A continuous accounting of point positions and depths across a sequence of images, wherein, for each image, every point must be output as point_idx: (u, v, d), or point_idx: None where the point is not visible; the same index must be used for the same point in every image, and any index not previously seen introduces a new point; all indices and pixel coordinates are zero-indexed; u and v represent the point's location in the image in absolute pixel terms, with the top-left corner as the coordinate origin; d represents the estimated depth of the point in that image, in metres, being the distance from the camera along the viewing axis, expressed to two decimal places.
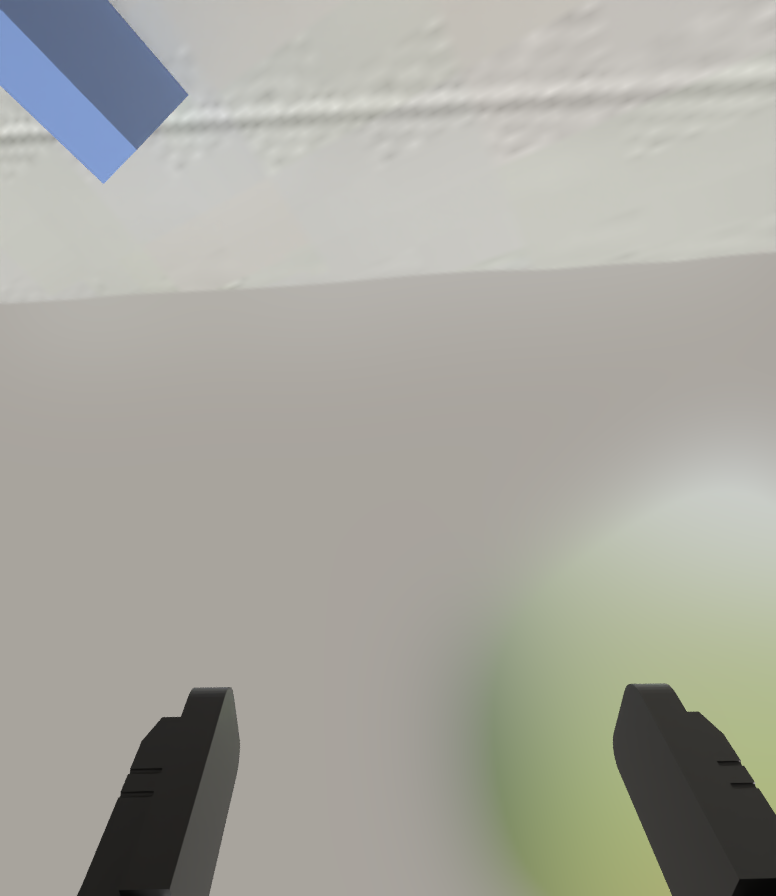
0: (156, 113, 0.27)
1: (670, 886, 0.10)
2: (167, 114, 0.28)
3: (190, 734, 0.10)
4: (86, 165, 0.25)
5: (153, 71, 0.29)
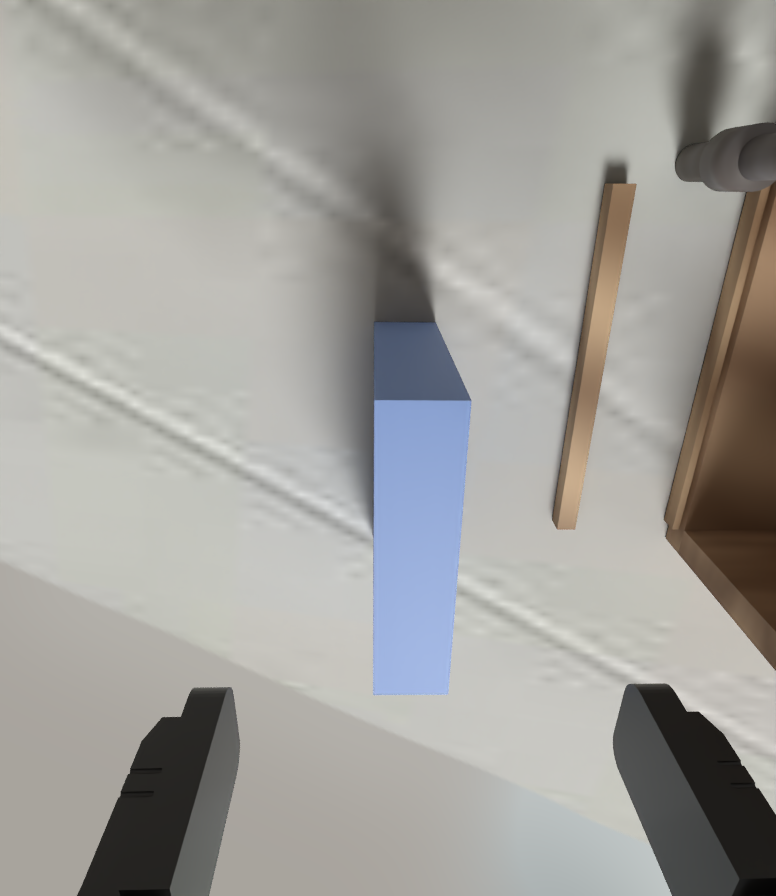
0: None
1: (670, 886, 0.10)
2: None
3: (190, 734, 0.10)
4: (373, 671, 0.18)
5: None
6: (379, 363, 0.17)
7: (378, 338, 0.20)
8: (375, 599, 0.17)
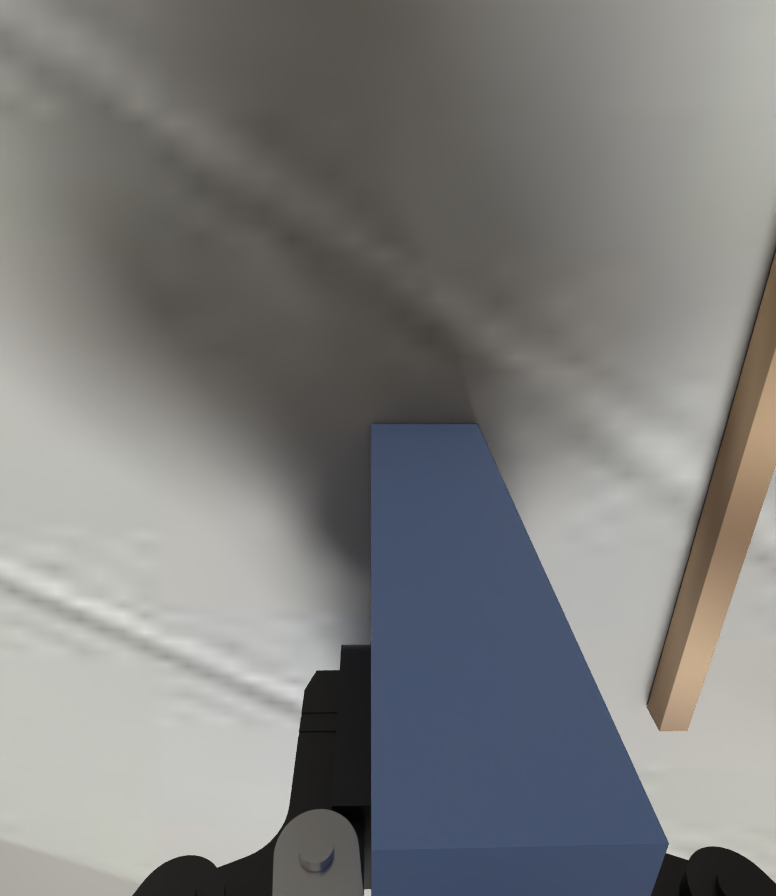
0: None
1: None
2: None
3: (353, 682, 0.11)
4: None
5: None
6: (384, 591, 0.07)
7: (379, 482, 0.10)
8: None
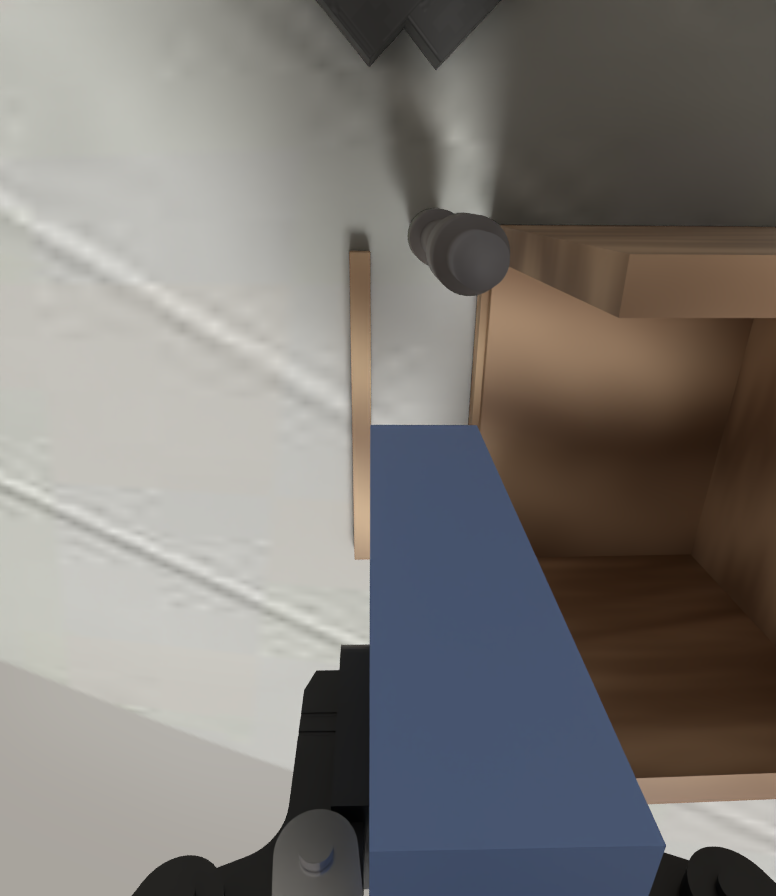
0: None
1: None
2: None
3: (352, 682, 0.11)
4: None
5: None
6: (382, 592, 0.07)
7: (377, 483, 0.10)
8: None
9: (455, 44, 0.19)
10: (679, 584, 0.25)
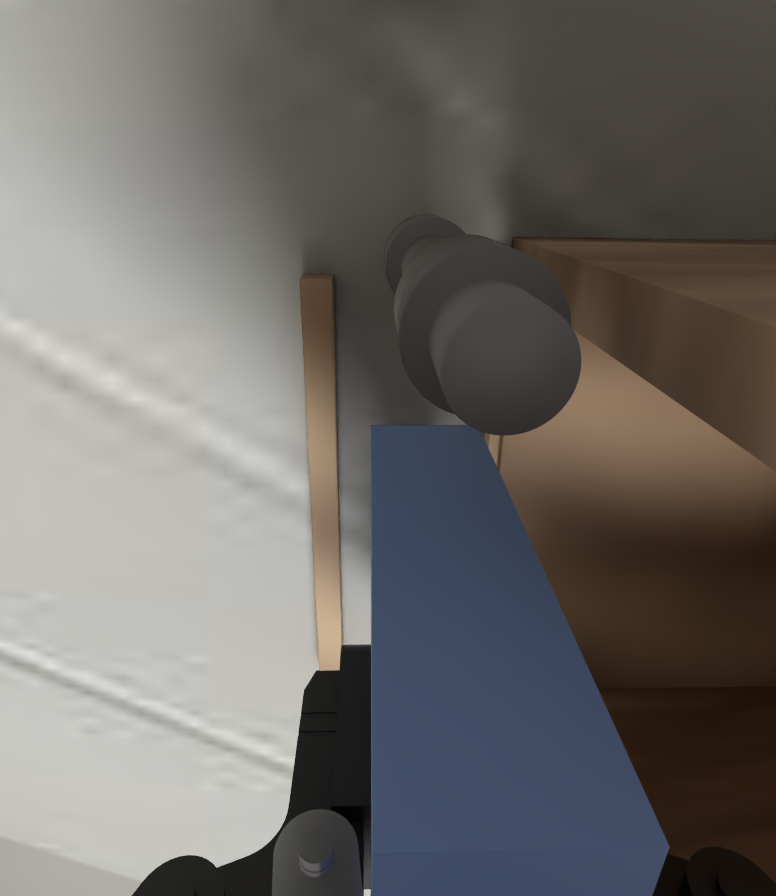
0: None
1: None
2: None
3: (353, 682, 0.11)
4: None
5: None
6: (384, 593, 0.07)
7: (379, 483, 0.10)
8: None
9: None
10: (772, 744, 0.18)
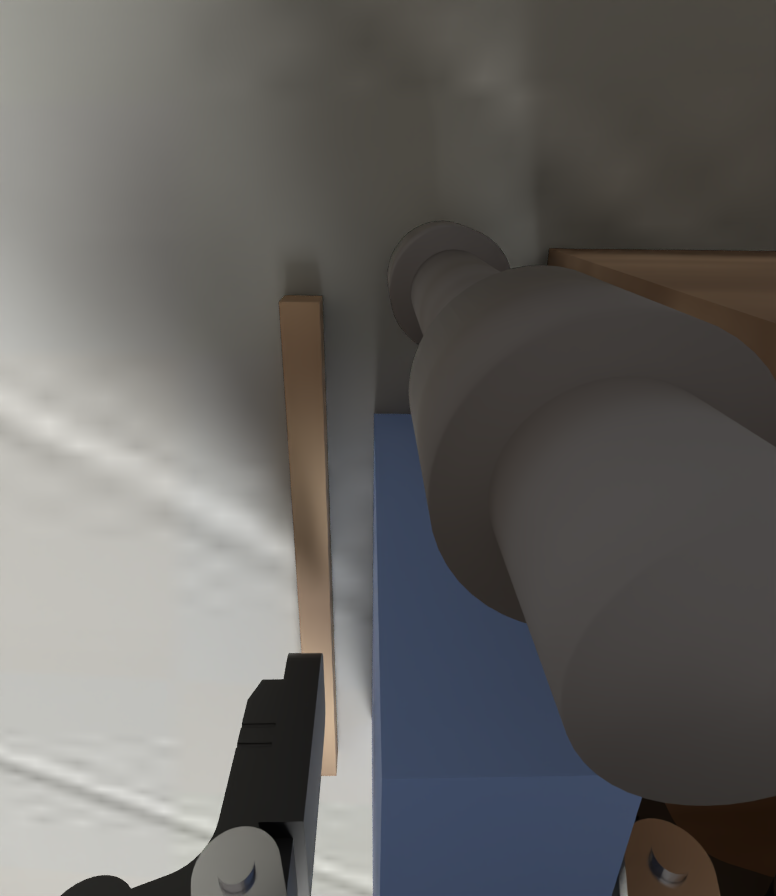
0: None
1: None
2: None
3: (295, 693, 0.11)
4: None
5: None
6: (389, 563, 0.08)
7: (382, 466, 0.11)
8: None
9: None
10: None
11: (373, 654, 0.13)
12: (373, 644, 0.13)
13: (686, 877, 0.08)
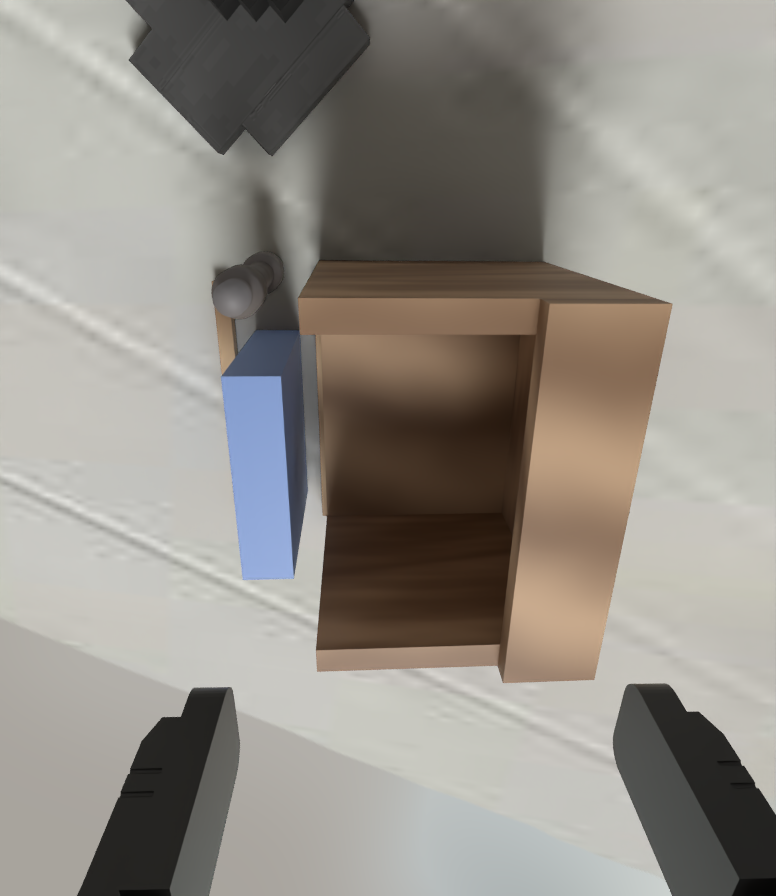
0: (300, 525, 0.31)
1: (670, 886, 0.10)
2: (302, 522, 0.32)
3: (190, 734, 0.10)
4: (241, 562, 0.27)
5: (304, 477, 0.33)
6: (239, 356, 0.26)
7: (250, 341, 0.29)
8: (236, 509, 0.25)
9: (278, 141, 0.27)
10: (481, 533, 0.33)
11: None
12: None
13: None
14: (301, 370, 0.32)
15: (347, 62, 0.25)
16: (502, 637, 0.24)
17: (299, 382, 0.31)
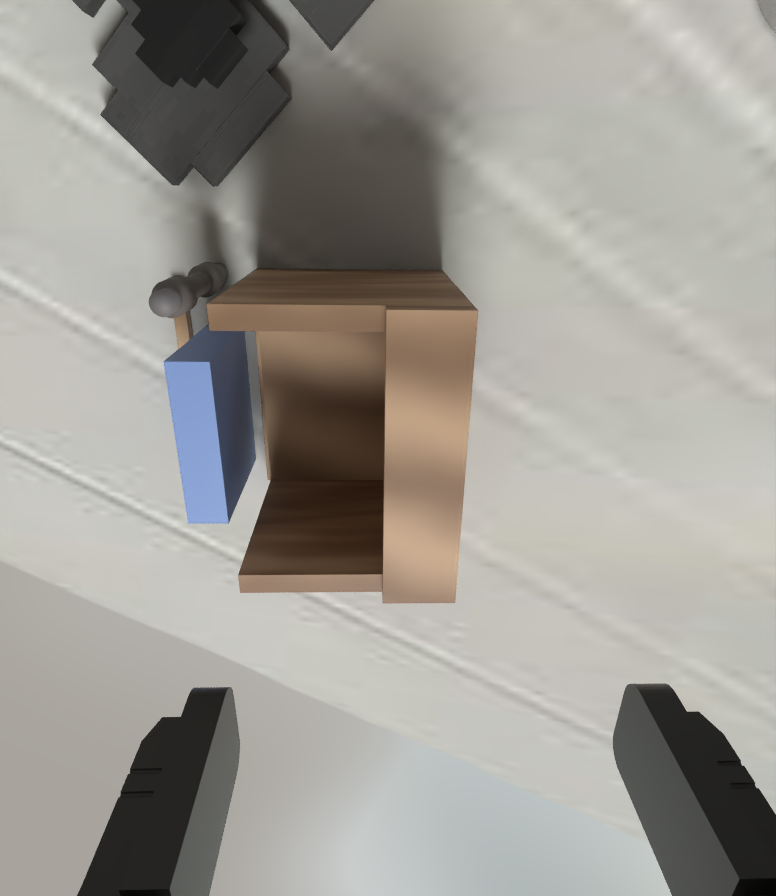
0: (242, 484, 0.38)
1: (670, 886, 0.10)
2: (245, 482, 0.39)
3: (190, 734, 0.10)
4: (186, 509, 0.34)
5: (249, 446, 0.40)
6: (184, 346, 0.33)
7: (198, 334, 0.36)
8: (180, 466, 0.33)
9: (220, 176, 0.33)
10: None
11: None
12: None
13: None
14: (246, 358, 0.39)
15: (271, 114, 0.32)
16: None
17: (242, 368, 0.38)
